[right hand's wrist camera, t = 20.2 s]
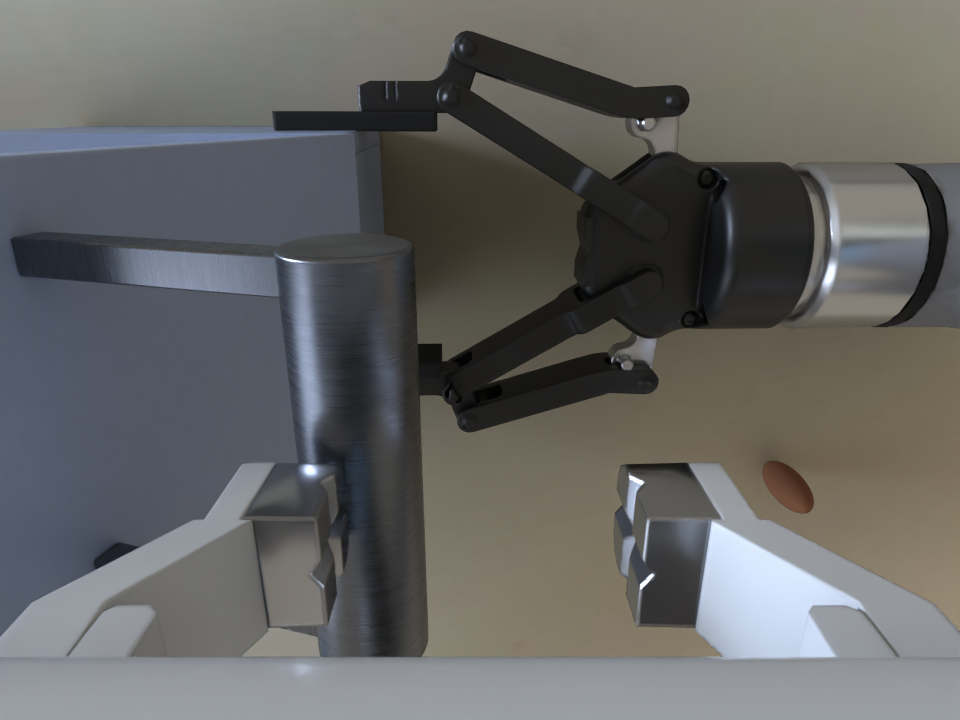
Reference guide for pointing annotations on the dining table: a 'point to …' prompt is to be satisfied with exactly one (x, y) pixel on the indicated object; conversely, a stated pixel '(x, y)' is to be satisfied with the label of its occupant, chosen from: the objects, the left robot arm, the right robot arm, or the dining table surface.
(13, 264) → the lid
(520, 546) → the dining table surface
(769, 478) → the egg
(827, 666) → the right robot arm
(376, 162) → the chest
